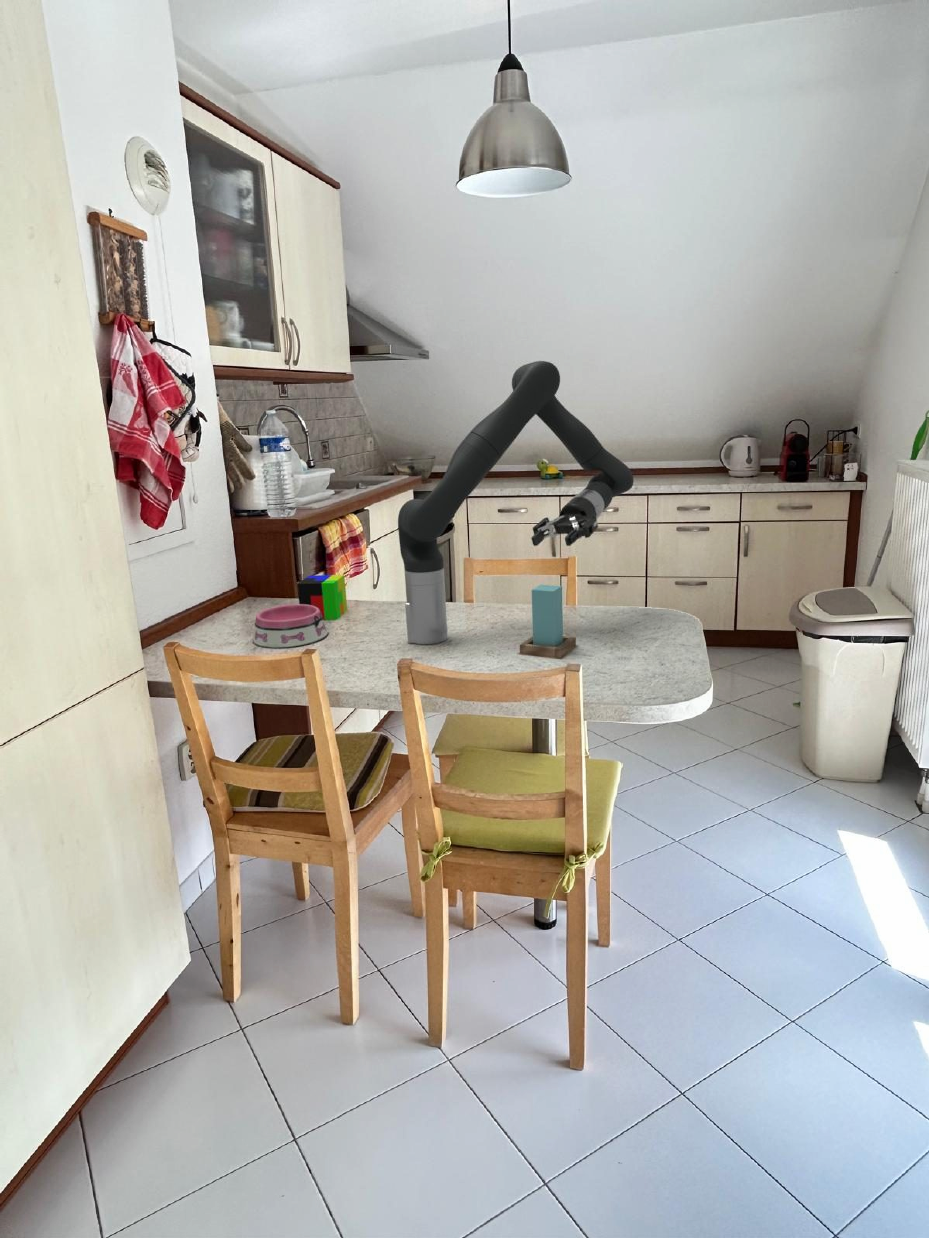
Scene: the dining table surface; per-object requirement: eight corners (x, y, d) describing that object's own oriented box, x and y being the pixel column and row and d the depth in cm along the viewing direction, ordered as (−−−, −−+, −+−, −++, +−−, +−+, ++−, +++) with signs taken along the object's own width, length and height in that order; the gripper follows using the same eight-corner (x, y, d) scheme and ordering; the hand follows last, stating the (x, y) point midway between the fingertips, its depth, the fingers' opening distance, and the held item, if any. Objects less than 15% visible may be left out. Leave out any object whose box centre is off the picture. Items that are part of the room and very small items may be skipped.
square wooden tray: (517, 658, 180) (516, 645, 180) (536, 645, 189) (535, 632, 188) (561, 663, 176) (561, 650, 175) (578, 649, 184) (578, 636, 184)
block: (533, 651, 181) (531, 589, 178) (542, 645, 185) (540, 584, 182) (554, 654, 179) (553, 591, 175) (563, 647, 183) (562, 586, 179)
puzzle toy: (312, 610, 230) (309, 575, 228) (347, 610, 229) (344, 574, 226) (300, 620, 221) (297, 583, 218) (337, 619, 219) (333, 583, 217)
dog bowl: (312, 650, 195) (309, 622, 193) (239, 649, 198) (236, 621, 196) (338, 628, 212) (336, 602, 210) (271, 627, 216) (268, 602, 214)
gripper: (552, 497, 196) (519, 527, 186) (606, 495, 188) (574, 526, 177) (559, 525, 200) (527, 557, 189) (613, 524, 191) (582, 557, 180)
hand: (550, 542), depth 183 cm, fingers open, 8 cm apart
